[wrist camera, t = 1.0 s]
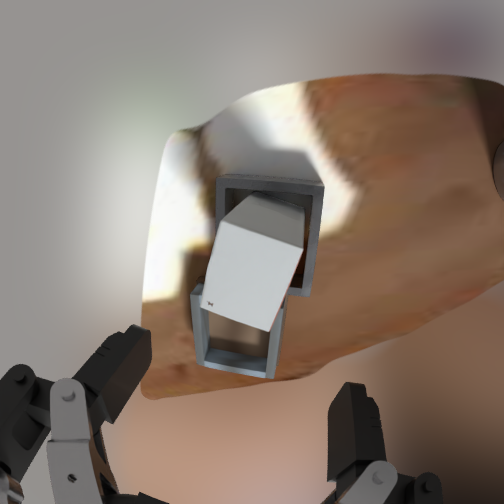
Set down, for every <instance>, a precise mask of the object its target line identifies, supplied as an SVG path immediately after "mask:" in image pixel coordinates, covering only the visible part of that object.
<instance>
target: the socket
mask: <svg viewBox="0 0 504 504" xmlns="http://www.w3.org/2000/svg"><path fill="white" fill-rule="evenodd" d="M324 187H325V186H324V184H323V182H318V181H309V180H300V179H289V178H278V177H266V176H252V175H235V174H225V175H222V176H219V177H217V178H216V234H217V231H218V227H219V223H220V221H221V220H222V219H223V218H224V217H225V216H226V215H227V214H228V213H230V212H231V211H232V210H233V199H234V188H239V189H253V190H265V191H276V192H287V193H297V194H306V195H312V205H311V215H310V224H309V233H308V241H307V249H306V257H305V264H304V272H303V275H301V274H294V276H293V278H292V281H291V283H290V286H289V288H288V290H287V293H286V294H287V295H295V296H303V297H310V292H311V286H312V279H313V273H314V267H315V260H316V253H317V246H318V239H319V231H320V223H321V215H322V206H323V197H324Z"/></svg>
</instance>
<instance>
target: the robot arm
mask: <svg viewBox="0 0 504 504" xmlns="http://www.w3.org/2000/svg"><path fill="white" fill-rule="evenodd" d="M493 172H494V181H495V185H496V188H497V191H498V193H499V195H500V197H501V198H502V199H503V200H504V141H503V142H502V143H501V144H500V145H499V147H498V149H497V151H496V154H495V158H494V168H493ZM151 360H152V348H151V332H150V330H147V329H145V328H142V327H139V326H137V325H134V324H133V325H131V326H130V327H129V328H128V329H127V330H126V332H125V333H121V332H117V333H115V334H113V335H111V336H109V337H108V338H107V339H106V340H105V341H104V342H103V343H102V344H101V347H99V348H98V349H97V350H96V351H95V353H93V355H92V356H91V357H90V358H89V359H88V360H87V361H86V363H85V364H84V365H83V366H82V367H81V368H80V370H79V371H78V372H77V373H76V374H75V375H74V377H72V378H63V379H60V380H58V381H56V382H52V381H49V380H46V379H42V378H39V377H36V375H35V373H34V371H33V370H32V369H31V368H30V367H29V366H27V365H24V364H19V365H15V366H13V367H12V368H11V369H10V370H9V371H8V372H7V373H6V374H5V375H4V376H3V378H2V379H1V380H0V504H21V503H22V501H23V500H24V495H23V491H22V488H21V485H20V482H21V480H22V478H23V476H24V474H25V473H26V471H27V469H28V467H29V466H30V464H31V462H32V460H33V459H34V457H35V455H36V454H37V452H38V450H39V449H40V447H41V445H42V444H43V442H44V440H45V439H46V437H47V436H48V434H49V432H50V431H51V435H52V437H51V440H49V441H48V442H47V458H48V466H49V472H50V478H51V484H52V489H53V494H54V499H55V504H169V503H166V502H164V501H161V500H158V499H156V498H153V497H150V496H148V495H146V494H143V493H141V492H139V494H138V496H137V495H130V494H120V493H119V490H118V487H117V484H116V481H115V478H114V476H113V473H112V471H111V469H110V466H109V462H108V459H107V454H106V449H105V445H104V440H103V435H102V430H101V425H102V424H103V422H104V421H107V422H109V423H111V424H113V423H114V422H115V420H116V419H117V417H118V416H119V414H120V412H121V411H122V409H123V408H124V406H125V404H126V403H127V401H128V400H129V398H130V397H131V395H132V393H133V392H134V390H135V389H136V387H137V385H138V384H139V382H140V381H141V379H142V378H143V376H144V375H145V373H146V371H147V370H148V368H149V366H150V363H151ZM381 427H382V425H381V420H380V414H379V408H378V406H377V404H376V403H375V401H374V399H373V398H371V397H367V393H366V388H365V385H364V384H359V383H351V382H346V383H345V384H344V385H343V386H342V388H341V390H340V391H339V392H338V394H337V395H336V397H335V398H334V400H333V401H332V403H331V405H330V407H329V411H328V470H327V482H336V489H334V490H333V491H332V493H331V494H330V495H329V496H328V497H327V498H326V499H325V500H324V501H323V502H322V503H321V504H443V497H442V487H441V482H440V479H439V478H438V477H437V476H436V475H435V474H433V473H430V472H427V473H423V474H421V475H419V476H418V477H411V476H407V475H402V474H399V473H397V471H396V469H395V468H394V466H393V465H391V464H390V463H388V462H387V460H386V453H385V445H384V439H383V432H382V429H381Z"/></svg>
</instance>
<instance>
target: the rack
mask: <svg viewBox="0 0 504 504" xmlns="http://www.w3.org/2000/svg"><path fill="white" fill-rule="evenodd" d="M204 284H205V277H199V278H198V279H197V286H196V287H195V288H194V290H193V291H192V292H191V294H190V301H191V312H192V323H193V333H194V342H195V351H196V359H197V364H199V365H203V366H205V367H210V368H214V369H219V370H224V371H229V372H234V373H239V374H244V375H250V376H256V377H262V378H271V379H274V374H275V369H276V366H278V364H279V358H280V352H281V345H282V338H283V331H284V324H285V317H286V310H287V302H288V295H287V294H286V295H285V298H284V300H283V302H282V305H281V307H280V310H279V312H278V314H277V317H276V319H275V321H274V323H273V326H272V328H271V330H270V331H269V332H267V331H264V330H262V329H258V328H255V327H252V326H249V325H247V324H244V323H241V322H238V321H235V320H232V319H229V318H227V317H224V316H221V315H219V314H216V313H213V312H211V311H209V310H206V309H204V308H201V307H200V303H201V298H202V293H203V289H204Z"/></svg>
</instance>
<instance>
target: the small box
mask: <svg viewBox="0 0 504 504" xmlns="http://www.w3.org/2000/svg"><path fill="white" fill-rule="evenodd" d="M304 221H305V208H303V207H300V206H298V205H295V204H292V203H289V202H286V201H283V200H280V199H277V198H274V197H271V196H268V195H265V194H262V193H259V192H256V191H253V192H252V193H251V194H250V195H249V196H248V197H247V198H246V199H244V200H243V201H242V202H241V203H240V204H239V205H237V206H236V207H235V208H234V209H233V210H232V211H231V212H230V213H228V214H227V215H226V216H225V217H224V218H223V219H222V220H221V221H220V223H219V227H218V231H217V234H216V238H215V242H214V246H213V249H212V253H211V257H210V261H209V264H208V268H207V272H206V277H205V284H204V289H203V293H202V298H201V303H200V307H201V308H204V309H206V310H209V311H211V312H213V313H216V314H219V315H221V316H224V317H227V318H229V319H232V320H235V321H238V322H241V323H244V324H247V325H249V326H252V327H255V328H258V329H262V330H264V331H267V332H269V331H270V330H271V328H272V326H273V323H274V321H275V319H276V317H277V314H278V312H279V310H280V307H281V305H282V302H283V300H284V298H285V295H286V293H287V290H288V288H289V286H290V283H291V281H292V278H293V276H294V273H295V270H296V268H297V266H298V263H299V261H300V258H301V255H302V253H303V250H304V249H303V245H304V223H305V222H304Z"/></svg>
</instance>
